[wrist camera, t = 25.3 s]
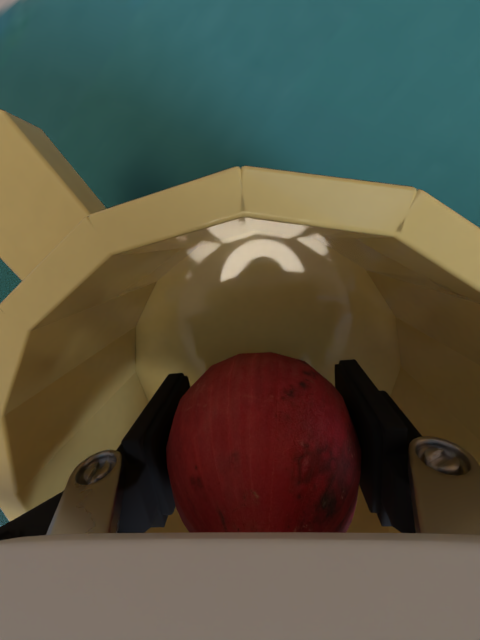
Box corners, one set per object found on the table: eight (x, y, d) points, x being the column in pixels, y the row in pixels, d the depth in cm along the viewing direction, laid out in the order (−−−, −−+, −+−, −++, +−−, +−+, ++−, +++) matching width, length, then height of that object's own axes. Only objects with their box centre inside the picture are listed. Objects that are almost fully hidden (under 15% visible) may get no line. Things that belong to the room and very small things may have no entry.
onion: (297, 301, 11) (384, 455, 3) (345, 411, 12) (488, 711, 4) (177, 352, 12) (22, 556, 4) (233, 448, 13) (191, 734, 6)
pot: (261, 71, 10) (258, -371, 3) (486, 433, 14) (733, 647, 6) (34, 294, 13) (-226, 357, 6) (261, 532, 17) (260, 741, 10)
